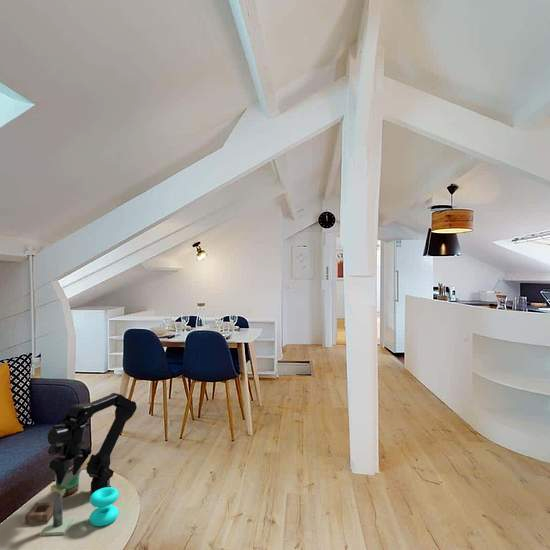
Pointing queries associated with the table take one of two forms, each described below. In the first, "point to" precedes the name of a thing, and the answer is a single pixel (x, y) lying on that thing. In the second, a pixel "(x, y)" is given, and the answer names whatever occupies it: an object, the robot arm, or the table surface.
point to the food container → (70, 482)
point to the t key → (57, 505)
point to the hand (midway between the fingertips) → (66, 479)
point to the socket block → (39, 513)
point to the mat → (57, 530)
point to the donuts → (104, 506)
